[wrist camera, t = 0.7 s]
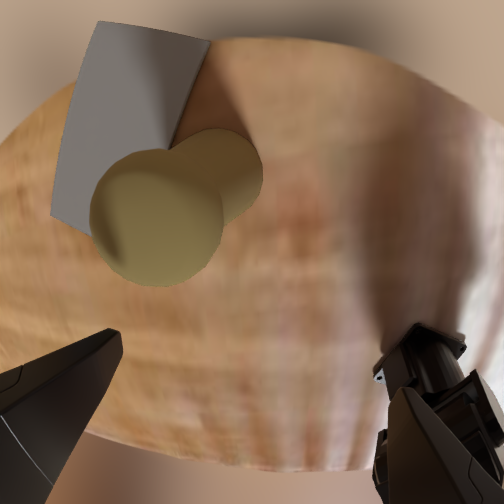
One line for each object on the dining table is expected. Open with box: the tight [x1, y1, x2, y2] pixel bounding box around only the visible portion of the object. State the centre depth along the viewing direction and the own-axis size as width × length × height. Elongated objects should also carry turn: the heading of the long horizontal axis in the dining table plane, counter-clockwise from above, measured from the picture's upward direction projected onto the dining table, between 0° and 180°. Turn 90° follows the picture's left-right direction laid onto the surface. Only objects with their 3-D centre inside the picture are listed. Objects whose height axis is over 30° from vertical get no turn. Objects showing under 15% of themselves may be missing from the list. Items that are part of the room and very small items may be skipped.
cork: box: [89, 128, 263, 287], centre depth 15 cm, size 6×6×11 cm
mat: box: [50, 21, 211, 237], centre depth 19 cm, size 9×16×1 cm, turn 158°
